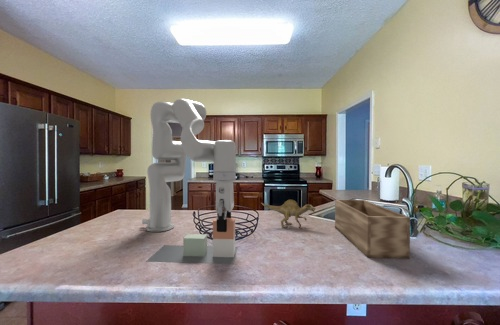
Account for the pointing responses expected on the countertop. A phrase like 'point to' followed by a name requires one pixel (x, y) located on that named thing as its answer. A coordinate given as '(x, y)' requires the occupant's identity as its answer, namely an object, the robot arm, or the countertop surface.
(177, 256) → the baseplate
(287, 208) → the dinosaur figurine
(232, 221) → the terracotta brick
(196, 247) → the sage brick
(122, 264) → the countertop surface
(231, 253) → the offwhite brick
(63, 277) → the countertop surface
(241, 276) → the countertop surface
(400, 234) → the toy crate
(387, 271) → the countertop surface
